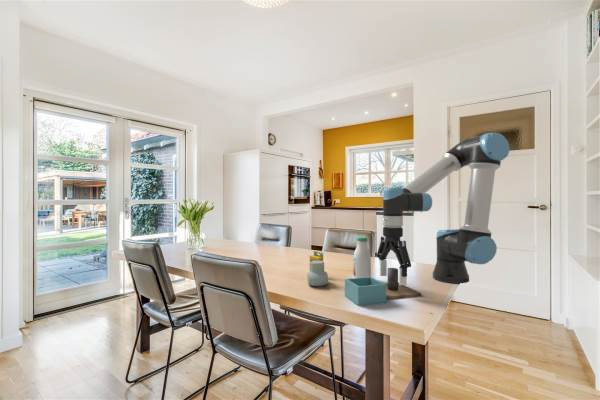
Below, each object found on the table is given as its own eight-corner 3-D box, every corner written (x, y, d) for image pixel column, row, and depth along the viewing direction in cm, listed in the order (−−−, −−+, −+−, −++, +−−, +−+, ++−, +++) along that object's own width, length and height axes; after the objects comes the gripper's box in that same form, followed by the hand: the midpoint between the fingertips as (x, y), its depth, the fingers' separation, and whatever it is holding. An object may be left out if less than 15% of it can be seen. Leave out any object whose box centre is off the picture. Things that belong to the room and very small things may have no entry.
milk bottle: (374, 281, 136) (374, 237, 136) (365, 285, 130) (365, 238, 130) (359, 278, 141) (359, 235, 141) (350, 281, 135) (350, 237, 135)
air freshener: (328, 288, 126) (328, 264, 126) (309, 288, 125) (309, 264, 125) (325, 281, 137) (324, 259, 136) (306, 281, 136) (306, 259, 136)
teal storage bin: (370, 294, 117) (370, 276, 117) (386, 304, 107) (386, 284, 107) (344, 297, 114) (344, 278, 114) (358, 307, 104) (358, 287, 104)
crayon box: (309, 275, 147) (309, 251, 146) (314, 274, 148) (314, 251, 148) (318, 278, 141) (318, 253, 140) (323, 277, 142) (323, 253, 142)
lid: (398, 284, 129) (398, 263, 129) (421, 295, 114) (421, 272, 114) (366, 287, 125) (366, 266, 125) (386, 299, 110) (386, 275, 110)
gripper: (368, 224, 130) (368, 273, 130) (403, 230, 106) (403, 290, 106) (384, 223, 132) (383, 271, 132) (421, 229, 108) (421, 288, 108)
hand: (392, 280), depth 119 cm, fingers open, 13 cm apart
